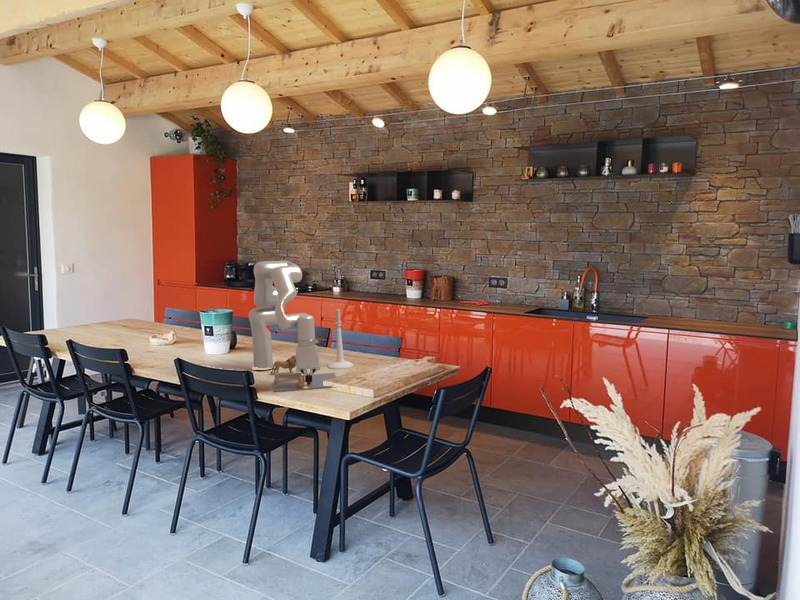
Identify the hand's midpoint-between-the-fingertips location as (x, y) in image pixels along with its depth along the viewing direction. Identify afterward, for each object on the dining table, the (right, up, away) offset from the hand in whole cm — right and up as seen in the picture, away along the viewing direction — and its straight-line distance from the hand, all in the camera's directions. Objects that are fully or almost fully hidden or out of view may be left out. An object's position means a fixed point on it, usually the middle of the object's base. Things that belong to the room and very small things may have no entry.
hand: (308, 383), depth 258 cm
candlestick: (+10, +3, +39) cm, 40 cm away
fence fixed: (-9, 0, +8) cm, 12 cm away
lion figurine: (-16, +1, +27) cm, 31 cm away
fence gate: (-3, 0, +1) cm, 3 cm away
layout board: (-3, -1, +8) cm, 8 cm away
